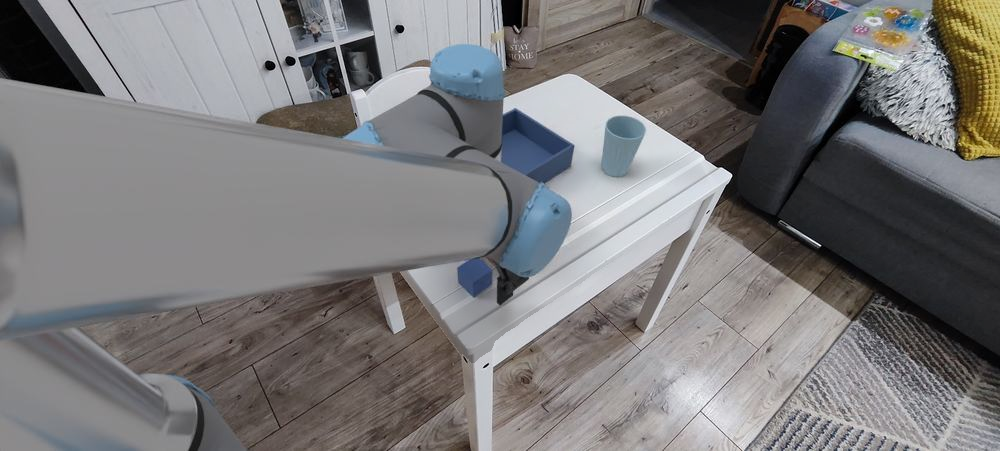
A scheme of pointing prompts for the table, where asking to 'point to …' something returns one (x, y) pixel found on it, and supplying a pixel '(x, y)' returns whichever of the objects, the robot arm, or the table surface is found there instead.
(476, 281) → the blue block
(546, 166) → the blue bin
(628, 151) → the cup
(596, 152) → the table surface
